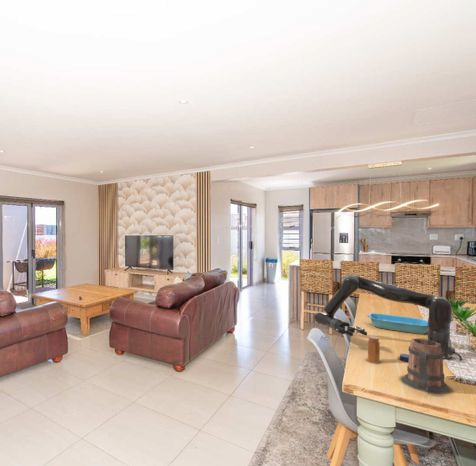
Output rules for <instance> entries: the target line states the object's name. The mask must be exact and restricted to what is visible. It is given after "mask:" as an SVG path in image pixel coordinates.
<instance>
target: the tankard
mask: <svg viewBox="0 0 476 466" xmlns="http://www.w3.org/2000/svg"><path fill="white" fill-rule="evenodd" d="M408 355H409V362H407V363H408V364H407V367H406V368H407V369H406V371H407V373H406V374H405V375H404V376H402V377H401V381H402V382H403V383H404V384H406V385H407V386H410V387H411V388H413V389H417V390H418V391H419V390H420V391H423V392H427V393H433V394H449V393H451V392H452V391H451V390H452V389H451V388H450V387H449V386H448V384H447V383H446V382H445V372H444V358H443V352H442V349H441V344H440V343H437V342H434V341H431V340H428V339H425V338H411V340H410V343H409V346H408Z"/></svg>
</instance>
